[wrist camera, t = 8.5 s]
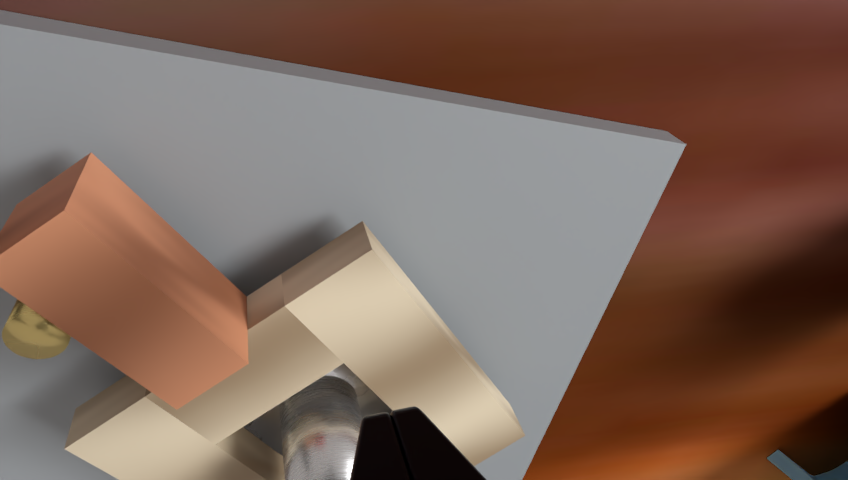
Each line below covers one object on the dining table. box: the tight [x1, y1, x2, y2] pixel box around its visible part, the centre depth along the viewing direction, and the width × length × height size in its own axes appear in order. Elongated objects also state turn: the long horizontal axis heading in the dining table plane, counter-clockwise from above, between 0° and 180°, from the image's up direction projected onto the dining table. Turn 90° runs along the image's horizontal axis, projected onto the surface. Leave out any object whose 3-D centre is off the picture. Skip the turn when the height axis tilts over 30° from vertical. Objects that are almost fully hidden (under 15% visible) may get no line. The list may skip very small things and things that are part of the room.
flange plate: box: [0, 153, 525, 480], centre depth 19 cm, size 17×11×3 cm, turn 30°
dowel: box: [2, 299, 71, 359], centre depth 16 cm, size 1×1×4 cm
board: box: [0, 10, 686, 480], centre depth 23 cm, size 23×22×1 cm
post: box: [244, 363, 393, 480], centre depth 21 cm, size 6×6×5 cm
